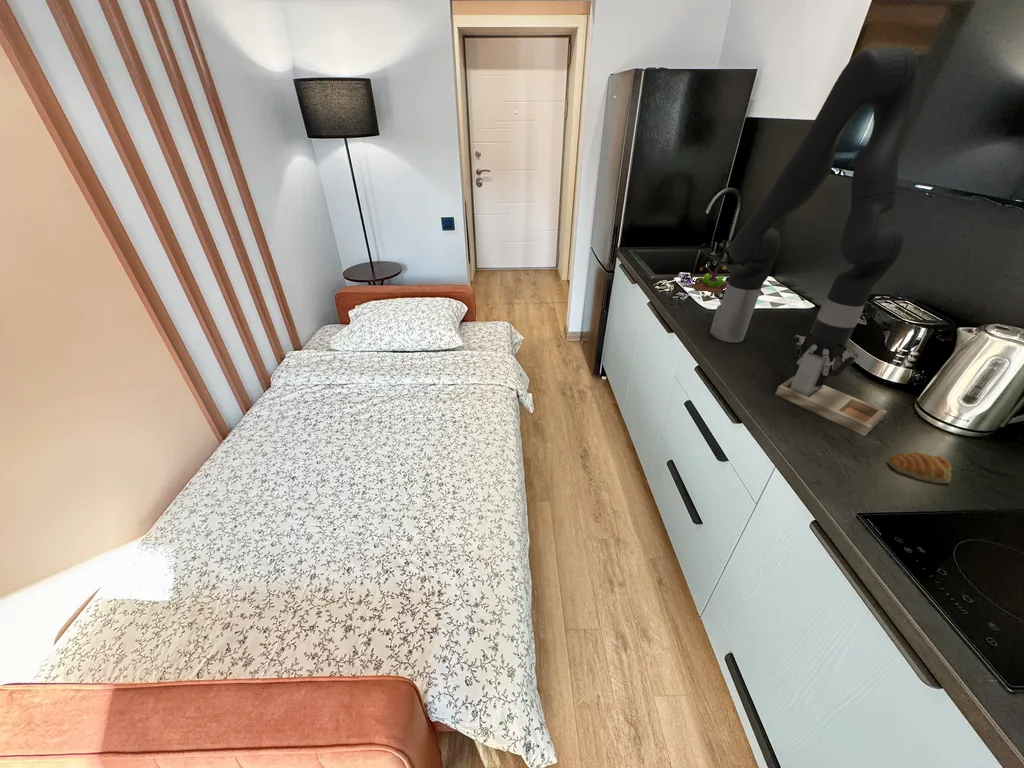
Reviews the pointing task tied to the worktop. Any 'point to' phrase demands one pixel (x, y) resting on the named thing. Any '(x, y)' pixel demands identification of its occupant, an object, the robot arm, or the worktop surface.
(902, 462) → the pastry
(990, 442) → the worktop surface
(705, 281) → the plant
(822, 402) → the wooden compartment tray
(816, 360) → the skincare box
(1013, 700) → the worktop surface
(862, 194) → the robot arm
